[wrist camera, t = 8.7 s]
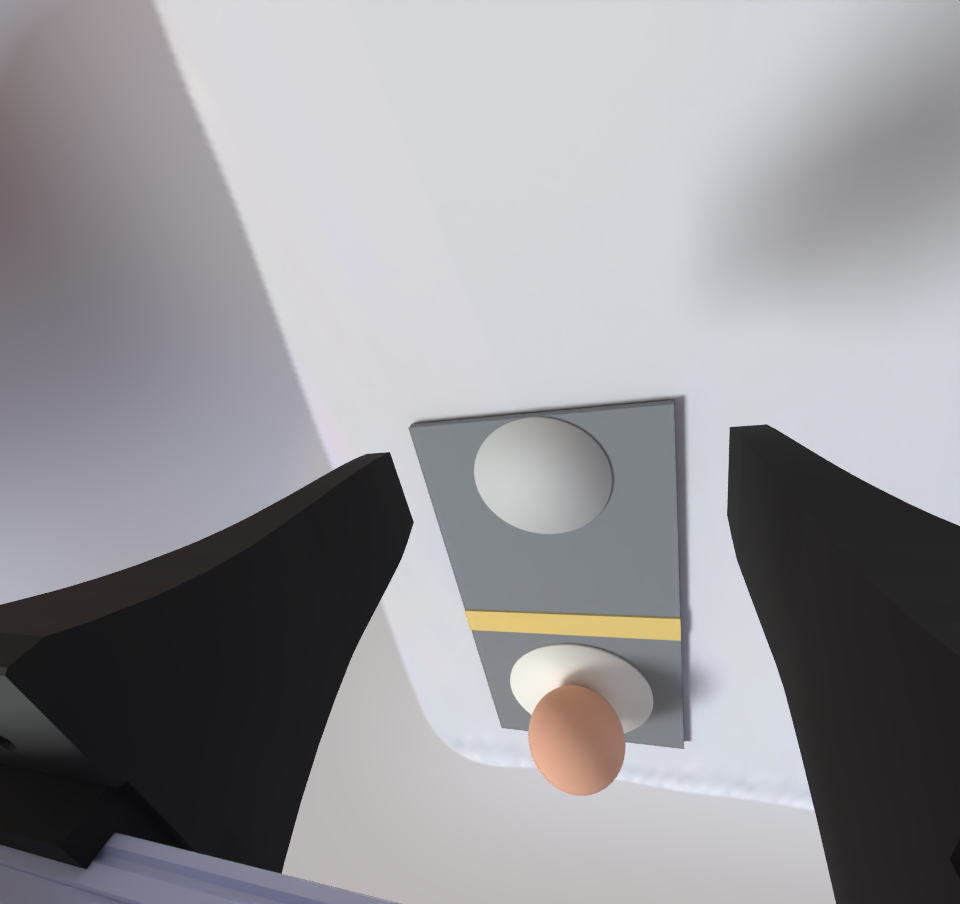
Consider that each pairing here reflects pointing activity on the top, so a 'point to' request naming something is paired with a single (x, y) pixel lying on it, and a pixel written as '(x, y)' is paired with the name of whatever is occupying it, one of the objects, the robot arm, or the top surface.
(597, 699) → the ball
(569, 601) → the mat
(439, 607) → the top surface
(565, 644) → the white disc
